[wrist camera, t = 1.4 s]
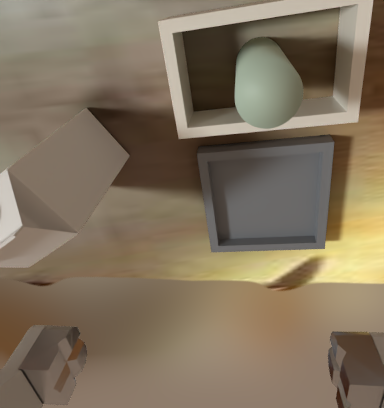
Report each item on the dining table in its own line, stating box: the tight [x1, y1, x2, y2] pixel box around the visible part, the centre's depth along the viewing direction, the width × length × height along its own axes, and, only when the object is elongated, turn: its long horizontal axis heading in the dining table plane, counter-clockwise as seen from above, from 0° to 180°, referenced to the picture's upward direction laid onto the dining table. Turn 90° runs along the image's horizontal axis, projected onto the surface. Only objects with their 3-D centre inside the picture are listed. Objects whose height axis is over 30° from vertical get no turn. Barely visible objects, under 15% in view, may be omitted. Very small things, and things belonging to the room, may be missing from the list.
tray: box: [197, 135, 334, 252], centre depth 38 cm, size 14×14×2 cm
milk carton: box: [0, 108, 130, 268], centre depth 31 cm, size 7×7×19 cm
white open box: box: [158, 0, 373, 139], centre depth 29 cm, size 10×16×5 cm, turn 99°
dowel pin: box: [235, 37, 303, 129], centre depth 26 cm, size 4×4×12 cm
